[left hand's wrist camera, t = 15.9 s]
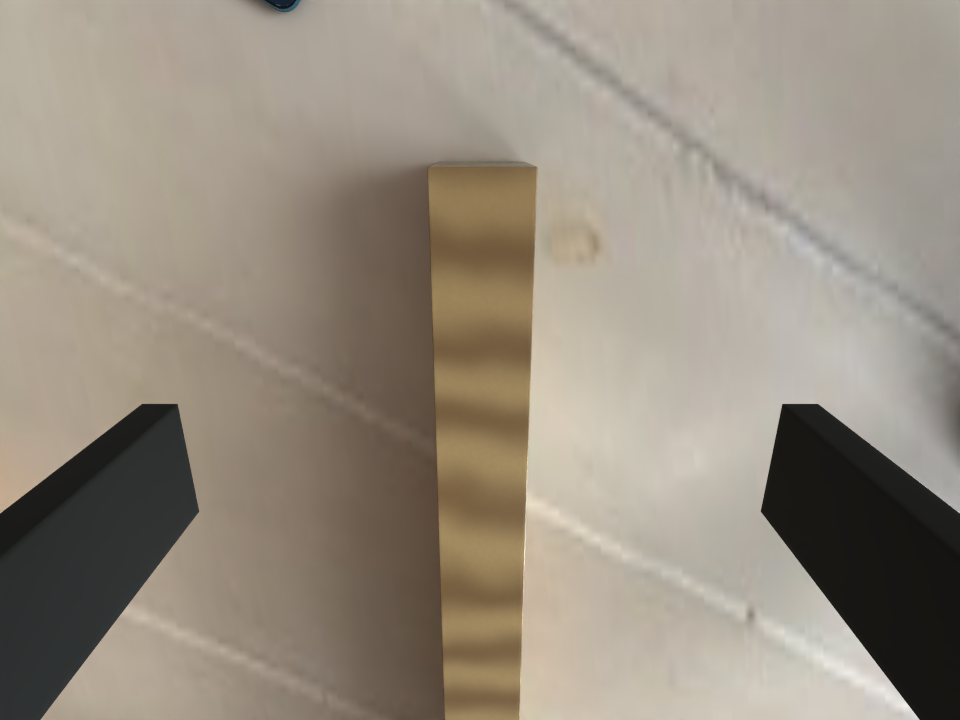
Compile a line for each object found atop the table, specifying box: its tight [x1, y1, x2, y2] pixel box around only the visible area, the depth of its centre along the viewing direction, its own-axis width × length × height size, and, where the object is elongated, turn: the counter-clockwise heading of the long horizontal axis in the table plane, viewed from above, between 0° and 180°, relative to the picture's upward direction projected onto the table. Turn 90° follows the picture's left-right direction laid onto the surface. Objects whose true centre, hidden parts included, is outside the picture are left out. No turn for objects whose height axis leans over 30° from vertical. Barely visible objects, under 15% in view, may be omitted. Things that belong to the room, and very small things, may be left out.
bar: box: [428, 162, 537, 720], centre depth 44 cm, size 62×6×8 cm, turn 0°
